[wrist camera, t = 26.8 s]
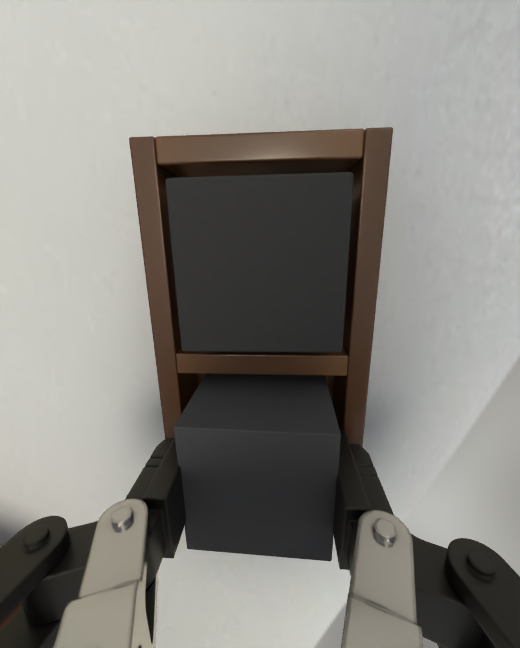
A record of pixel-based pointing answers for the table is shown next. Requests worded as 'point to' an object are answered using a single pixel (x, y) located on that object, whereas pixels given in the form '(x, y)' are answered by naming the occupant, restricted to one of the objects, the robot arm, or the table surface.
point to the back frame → (266, 159)
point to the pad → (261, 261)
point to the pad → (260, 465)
